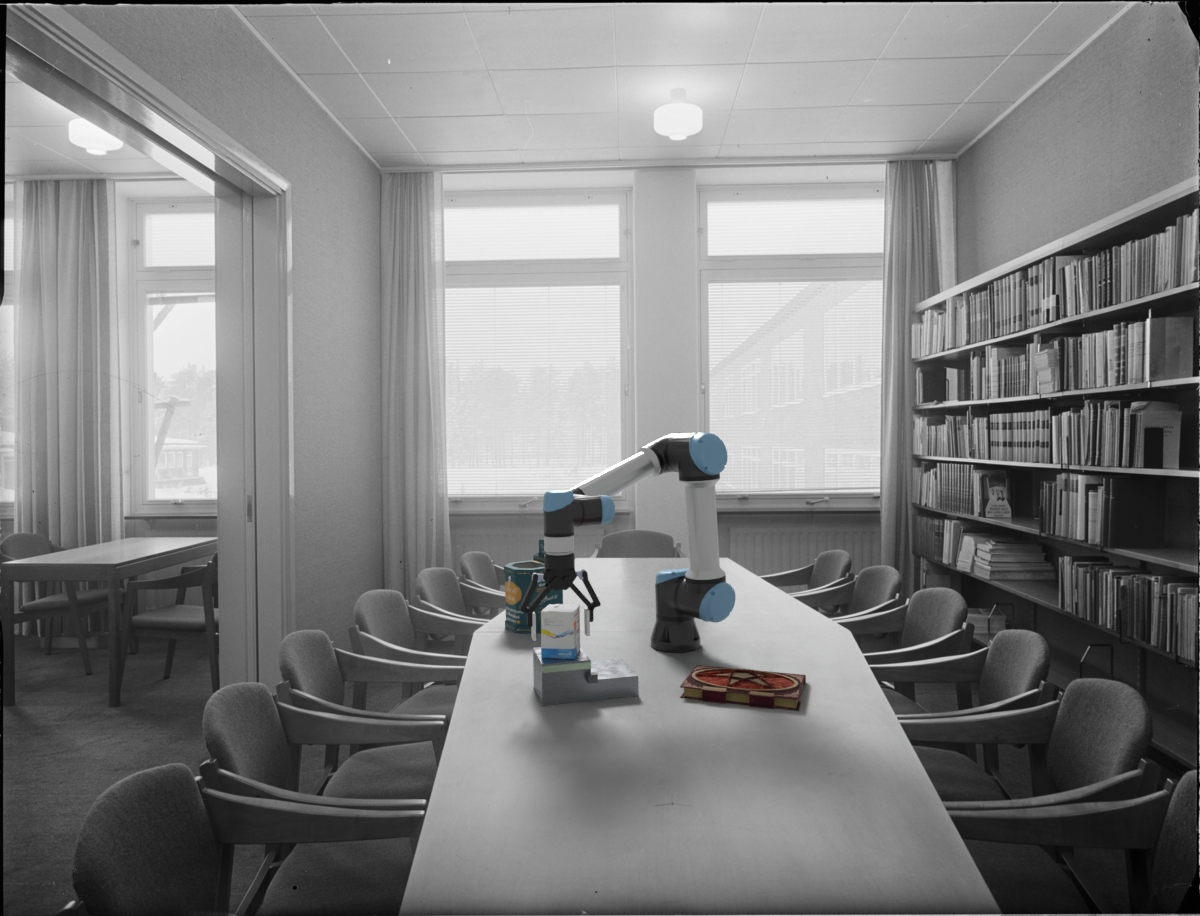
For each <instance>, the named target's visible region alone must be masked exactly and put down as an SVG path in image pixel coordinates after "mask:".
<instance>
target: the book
mask: <svg viewBox="0 0 1200 916" xmlns="http://www.w3.org/2000/svg"><path fill="white" fill-rule="evenodd" d="M806 677H807V676H806V674H800V673H788V672H777V671H767V670H758V669H751V668H750V669H748V668H747V669H746V668H735V667H734V668H732V667H723V666H712V665H700V664H697V665H695V667H694V668H693V669H692V670H691V671H690V673H689V674H688V675H687V677H686V678H685V680H684V681H682V683H681V685H680V686H679V688H682V689H683V692H682V694H681V695H680V696H679V698H680V699H685V700H686V699H689V700H696V701H702V702H707V703H716V704H733V705H742V706H743V705H744V706H749V707H754V708H760V709H762V708H763V709H770V710H774V709H779V710H787V711H788V710H789V711H797V712H798V711H800V709H801V704H802V702H801V700H800V697H801V693H802V689H803V685H806V683H807V678H806Z"/></svg>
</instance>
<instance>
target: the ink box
mask: <svg viewBox="0 0 1200 916" xmlns="http://www.w3.org/2000/svg"><path fill="white" fill-rule="evenodd" d="M580 608H581V605H580V604H568V603H567V604H566V603H563V604H549V605H548V606H546V607H545V608H544V609H543V610H542V611H541V632H540V642H541V643H540V645H541V646H540V647H541V657H542V658H557V659H574V658H575V657H576V655H577V654H578V652H579V650H580V646H581V625H580V624H581V622H580V621H581V620H580V619H581V618H580V616H581V614H580V613H581V610H580Z"/></svg>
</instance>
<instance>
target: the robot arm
mask: <svg viewBox="0 0 1200 916" xmlns="http://www.w3.org/2000/svg"><path fill="white" fill-rule="evenodd" d="M727 450H728V449H727V447H726V445H725V443H724V441H723V440H722V439H721V438H720V437H719V436H718V435H716V434H715V433H710V432H705V431H697V432H696V431H695V432H693V431H692V432H673V433H669V434H667V435H663V436H661V437H660V438H659V437H658V438H657V439H655V440H653V441H651V442H648V443H647V444H646V445H643V446H642V447H639V448H638V450H637V453H636V454H634V455H632V456H630V457H628V458H626V459H624V460H622V461H620V462H619V463H617V464H614V465H613V466H610V467H609V468H607V469H605V470H603V471H602V472H601V471H600V473H597V474H595V475H594V476H592V477H590V478H588V479H585V480H584V481H582V482H580V483H578V484H577V485H574V486H572V487H570V488H568V489H555V490H553V489H552V490H547V491H545V492H544V494H543V501H542V503H543V506H542V511H543V513H542V514H543V540H544V551H545V552H547V553H546V554H545V555H544V567H545V570H544V573H543V574H537V573H535V572H533V573H532V578H531V583H530V585H529V587H528V589H527V591H526V594H525V596H524V598H523V600H522V602H521V604H520V606H519V609H520V610H521V612H525V613H527V625H528V627H531V634H530V635H531V639H532V641H534V642H535V641H537V633H536V614H535V613H534V612H533V611H534V610H535V609H536V608H537V606H538V605H539V604H540V603H541V601H542V600H543V599H544V597H545V596H546V595H547V594H548V593H549V592H550V591H551V589H552V590H554V591H558V590H563V591H567V590H568V589H571V590H572V592H573V593H575V594H576V596H577V597H578V598H579V599H580V600H581V602H583V603H584V604H585V606H586V607H583V609H584V611H583V612H584V614H583V616H584V635H585V636H586V637H590V636H591V624H590V623H592V622H594V610H595V609H596V608H597V607H601V604H602V603H601V602H600V601H601V600H600V599H599V597H598V596H597V593H596V592H595V591H594V588H593V586H592V584H591V581H590V580H589V575H588V571H586V569H581V570H579V571H578V570H577V571H576V568H575V564H576V563H575V562H576V561H575V553H574V551H575V528H578V527H587V526H598V525H599V526H602V525H605V524H610V523H611V522H612V521H613V520H614V518H615V515H616V505H615V502H614V500H613V499H612V498H613V497H614V496H616V495H617V494H620V493H621V492H623V491H625V490H627V489H629V488H630V487H633V486H635V485H636V484H638V483H640V482H642V481H643V480H645V479H647V478H650V477H651V478H656V477H658V476H660V475H663V474H668V473H678V481H679V482H680V484H682V485H683V487H684V493H685V494H684V495H685V496H684V497H685V508H686V509H685V510H686V512H685V513H686V529H687V545H688V560H689V561H688V562H689V568H674V569H673V568H671V569H664V570H660V571H659V572H657V573H656V576H655V583H654V587H655V590H654V591H655V623H654V626H653V628H652V632H651V635H650V646H651V647H652V648H653V649H655V650H659V651H661V652H668V653H669V652H670V653H683V652H684V653H685V652H691V651H695V650H698V649H699V648H700V647H701V645H702V644H701V636H700V635H701V634H700V633H699V631H698V629H699V628H698V627H697V624H696V621H695V619H698V620H701V621H703V622H706V623H707V622H708V623H720V622H723V621H725V620H726V619H727V618H728V617H730V615H731V613H732V612H733V609H734V607H735V604H736V591H735V588H734V587H733V586H732V585H731V584H730V583H728V582H727V578H726V577H727V575H726V572H725V570H724V569H722V568H721V565H720V564H721V562H720V548H719V547H720V546H719V544H720V543H719V532H718V531H719V530H718V529H719V528H718V527H719V526H718V512H717V511H718V510H717V498H716V484H717V483H718V482H719V481H720V480H721V475H720V474H721V473H722V472H723V471H725V468H726V465H727V463H728V451H727ZM577 577H578V579H579V580H582V583H583V585H584V587H585V589H586V590H587V593H588V594H589V596H590V599H591V602H590V600H589V599H588V598H587V597H586V596H585V595H584V594H583V592H581V590H579V588H578V587H577V585H576V584H574V581H575V580H576V578H577ZM541 579H544V580H545V582H546V584H545V585H544V586H543V588H542V590H541V591H540V592H539V593H538V595H537V596H536V597H535V599H534V600H533V601H532V602H531V604H530V605H529V606H528V603H529V601H530V599H531V597H532V595H533V593H534V590H535V588H536V586H537V583H538V582H540V580H541ZM527 606H528V607H527Z"/></svg>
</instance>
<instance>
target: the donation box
mask: <svg viewBox="0 0 1200 916" xmlns="http://www.w3.org/2000/svg"><path fill="white" fill-rule="evenodd" d="M546 553H547V552H545V551H544V539H542V538H540V539H539V540H538V552H537V553H535V554H533V555H532V556H533V558H532V559H530V560H521V561H514V562H508V563H507V564H505V565H503V574H504V588H505V589H504V590H505V591H504V592H505V594H504V596H505V620H504V628H505V629H506V630H508V631H510V632H512V633H515V634H529V635H531V627H528V625H527V613H525V612H521V610H520V609H519V606H520V604H521V602H522V600H523V598H524V596H525V594H526V591H527V589H528V587H529V585H530V583H531V578H532V573H533V572H535V573H537V574H543V573H544V570H545V567H544V555H545V554H546ZM545 584H546V582H545V580H544V579H541V580H540V582H538V583H537V586H536V588H535V590H534V593H533V595H532V597H531V599H530V601H529V603H528V606H529V605H530V604H531V602H532V601H533V600H534V599H535V597H536V596H537V595H538V593H539V592H540V591H541V590H542V588H543V586H544V585H545ZM549 604H564V590H558V591H554V590H552V589H551V591H550V592H549V593H548V594H547V595H546V596H545V597H544V599H543V600H542V601H541V603H540V604H539V605H538V606H537V608H536V609H535V610H534V611H533V612H534V613H535V614H536V634H539V633H540V634H541V611H542V610H543V609H544V608H545V607H546V606H548V605H549ZM528 606H527V607H528Z"/></svg>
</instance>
